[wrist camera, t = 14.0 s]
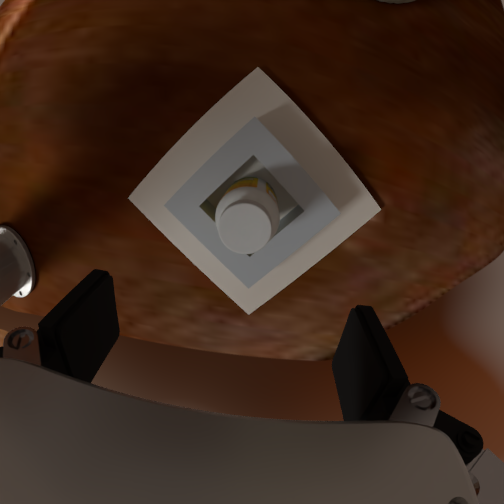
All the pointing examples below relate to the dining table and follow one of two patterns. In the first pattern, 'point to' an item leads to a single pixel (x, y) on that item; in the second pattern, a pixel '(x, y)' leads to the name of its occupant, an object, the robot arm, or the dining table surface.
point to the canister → (396, 1)
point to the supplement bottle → (247, 215)
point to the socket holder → (261, 166)
